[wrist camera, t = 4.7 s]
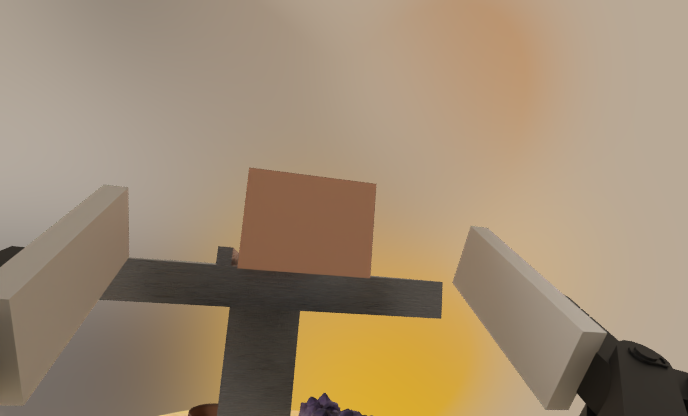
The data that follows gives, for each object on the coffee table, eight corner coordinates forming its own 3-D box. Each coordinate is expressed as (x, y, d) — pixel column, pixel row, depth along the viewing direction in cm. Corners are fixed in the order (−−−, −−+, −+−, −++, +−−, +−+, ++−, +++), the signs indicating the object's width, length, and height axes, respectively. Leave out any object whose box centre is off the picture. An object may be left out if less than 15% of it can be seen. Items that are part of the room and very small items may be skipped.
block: (370, 278, 12) (376, 183, 13) (237, 268, 11) (249, 167, 12) (279, 268, 51) (282, 244, 51) (248, 265, 50) (250, 242, 50)
